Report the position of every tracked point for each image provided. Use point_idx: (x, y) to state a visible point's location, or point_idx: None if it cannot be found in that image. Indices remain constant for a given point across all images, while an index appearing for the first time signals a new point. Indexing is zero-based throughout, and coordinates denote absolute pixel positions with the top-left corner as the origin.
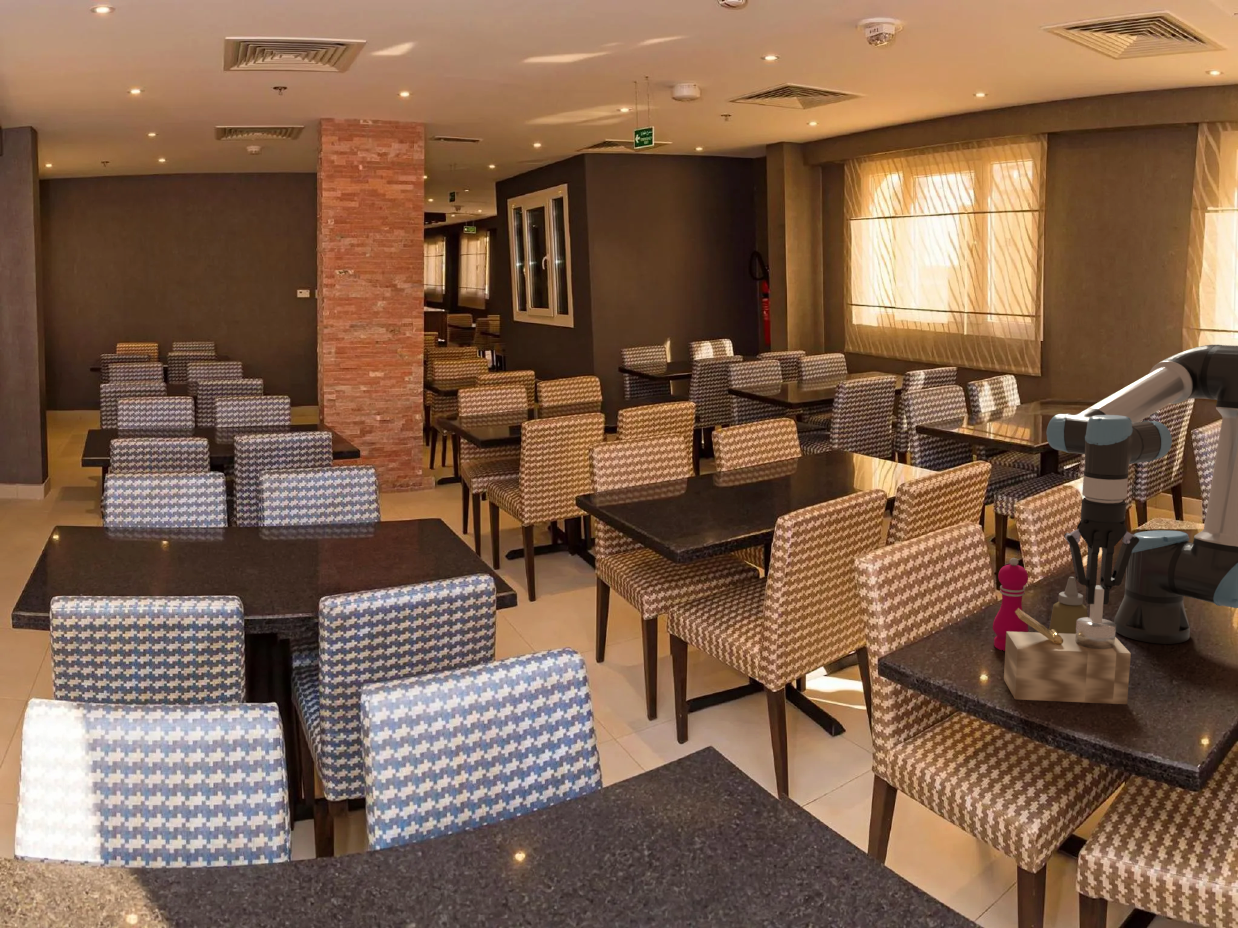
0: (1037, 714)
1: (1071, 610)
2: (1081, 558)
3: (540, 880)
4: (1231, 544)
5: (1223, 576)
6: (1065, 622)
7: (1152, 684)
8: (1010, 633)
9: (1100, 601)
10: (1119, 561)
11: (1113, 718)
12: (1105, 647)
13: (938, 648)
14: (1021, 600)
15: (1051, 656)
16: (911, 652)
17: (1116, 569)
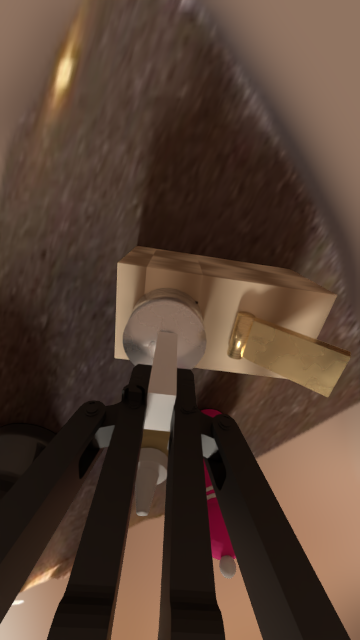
0: (289, 209)
1: (156, 437)
2: (268, 553)
3: None
4: None
5: None
6: None
7: (75, 313)
8: None
9: (161, 364)
10: (41, 524)
11: (180, 189)
12: (160, 289)
13: (292, 419)
14: (206, 479)
15: (268, 281)
16: (330, 410)
17: (74, 476)
